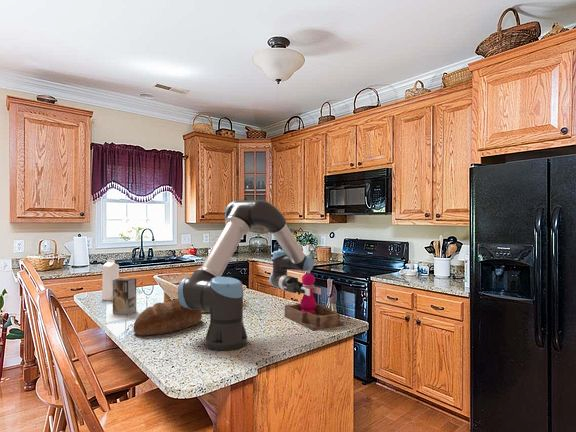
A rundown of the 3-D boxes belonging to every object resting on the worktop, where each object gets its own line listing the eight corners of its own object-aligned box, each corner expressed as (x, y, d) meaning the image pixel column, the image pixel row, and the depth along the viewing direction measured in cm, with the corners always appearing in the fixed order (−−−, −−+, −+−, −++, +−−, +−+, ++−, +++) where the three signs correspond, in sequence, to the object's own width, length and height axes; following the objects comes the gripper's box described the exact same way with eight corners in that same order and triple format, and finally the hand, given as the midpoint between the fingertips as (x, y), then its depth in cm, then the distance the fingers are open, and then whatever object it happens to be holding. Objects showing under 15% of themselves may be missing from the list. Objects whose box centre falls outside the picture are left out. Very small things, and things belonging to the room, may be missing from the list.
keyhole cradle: (312, 330, 149) (312, 318, 149) (284, 316, 170) (284, 305, 170) (344, 325, 157) (344, 313, 157) (313, 312, 178) (313, 302, 178)
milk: (111, 297, 209) (111, 258, 209) (118, 298, 206) (119, 259, 207) (101, 299, 203) (102, 259, 204) (109, 300, 201) (110, 260, 201)
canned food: (180, 306, 190) (180, 282, 190) (164, 307, 187) (164, 283, 187) (178, 302, 197) (178, 280, 197) (163, 303, 194) (163, 281, 194)
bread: (209, 323, 159) (209, 297, 159) (146, 341, 136) (146, 310, 136) (188, 317, 169) (188, 292, 169) (125, 332, 146) (126, 303, 147)
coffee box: (137, 311, 178) (137, 278, 178) (128, 314, 172) (128, 280, 172) (120, 310, 180) (121, 277, 181) (111, 313, 174) (111, 279, 174)
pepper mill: (315, 316, 163) (315, 271, 163) (299, 315, 164) (299, 271, 164) (317, 312, 170) (317, 269, 170) (301, 311, 171) (301, 268, 171)
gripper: (304, 289, 187) (331, 298, 167) (272, 293, 178) (297, 302, 158) (304, 274, 187) (331, 281, 167) (272, 277, 178) (297, 285, 158)
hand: (314, 292), depth 163 cm, fingers closed on pepper mill, 5 cm apart
